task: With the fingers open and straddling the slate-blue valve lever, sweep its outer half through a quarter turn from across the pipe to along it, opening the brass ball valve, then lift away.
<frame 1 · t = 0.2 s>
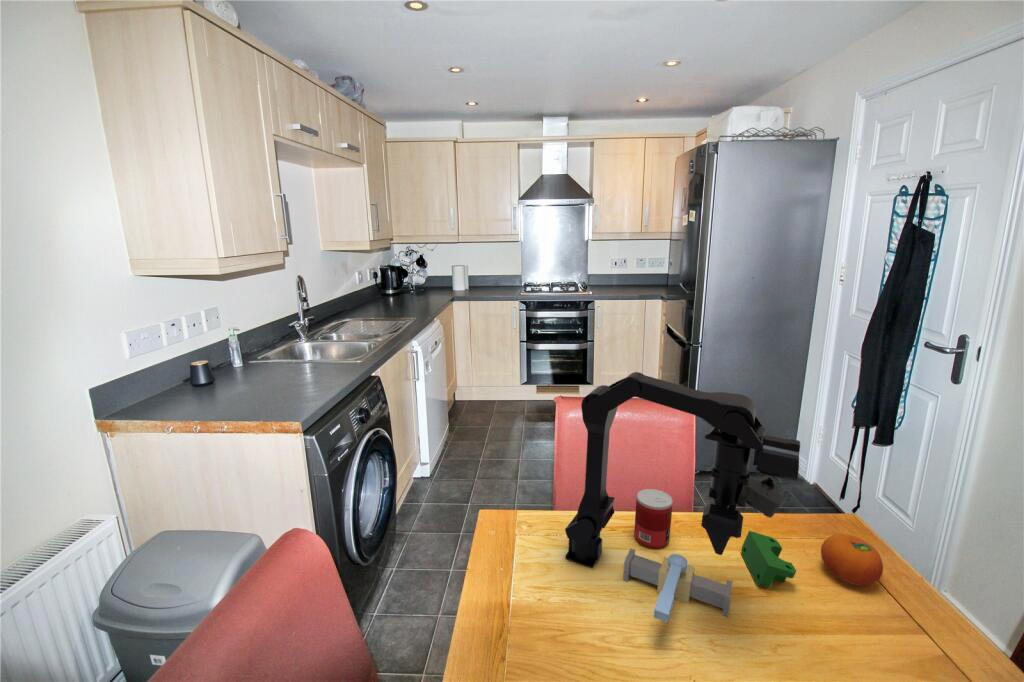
hand: (721, 539, 88), 14 cm above the table, fingers open, 9 cm apart
fruit: (847, 576, 99), on the table
lever: (670, 585, 88), point 6 cm above the table, hinge at 0.0°
pipe valve: (675, 590, 95), on the table
green bracket: (766, 572, 100), on the table
canned food: (651, 539, 111), on the table
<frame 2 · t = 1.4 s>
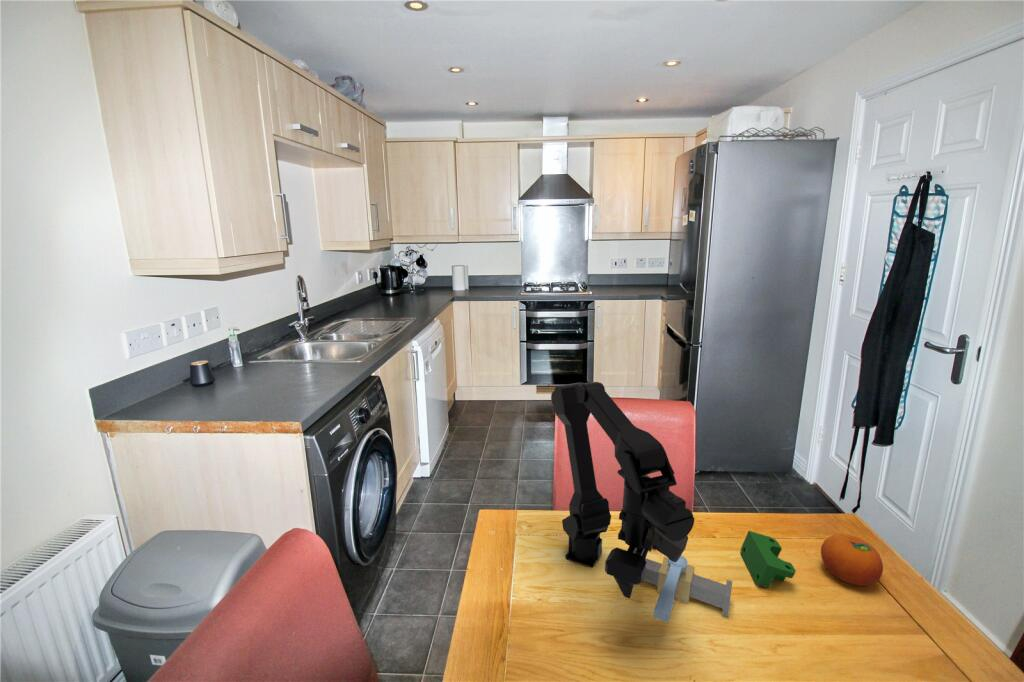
hand: (634, 580, 88), 7 cm above the table, fingers open, 9 cm apart
nothing on the table moved.
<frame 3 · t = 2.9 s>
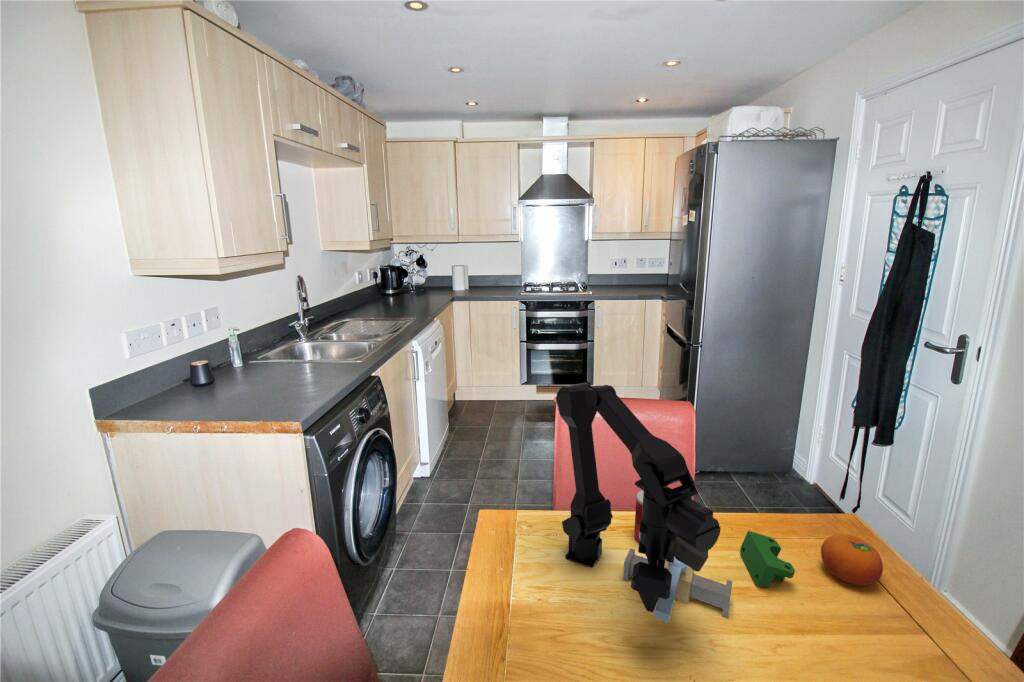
hand: (652, 592, 86), 6 cm above the table, fingers open, 9 cm apart
lever: (671, 585, 88), point 6 cm above the table, hinge at 0.4°, touching gripper
everything else where it was.
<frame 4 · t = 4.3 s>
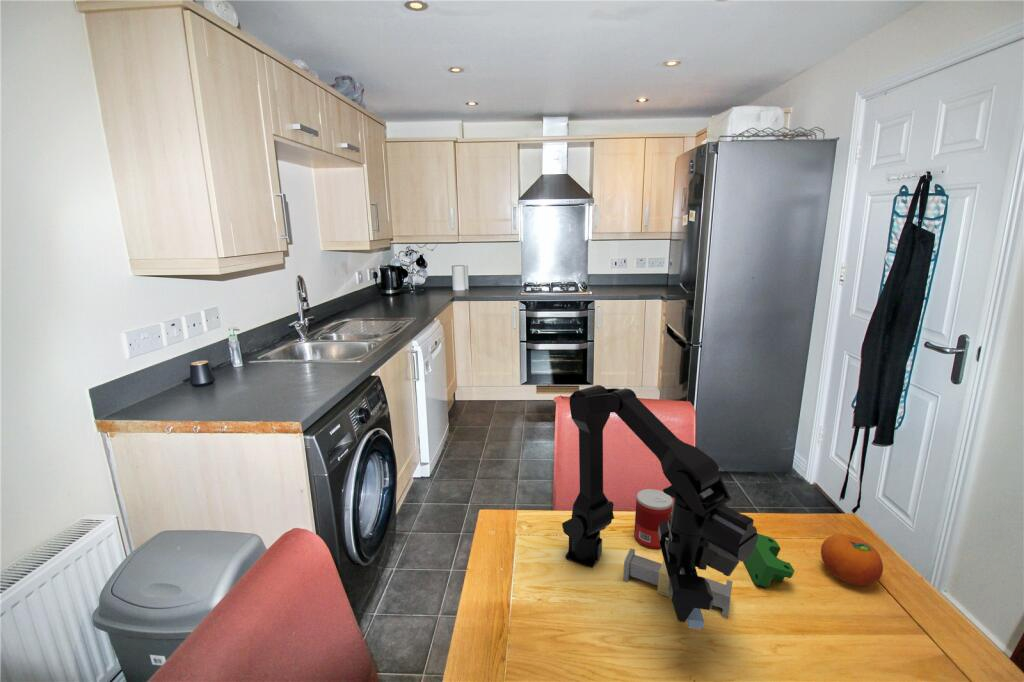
hand: (676, 600, 85), 6 cm above the table, fingers open, 9 cm apart
lever: (684, 588, 87), point 6 cm above the table, hinge at 21.9°, touching gripper
everything else where it was.
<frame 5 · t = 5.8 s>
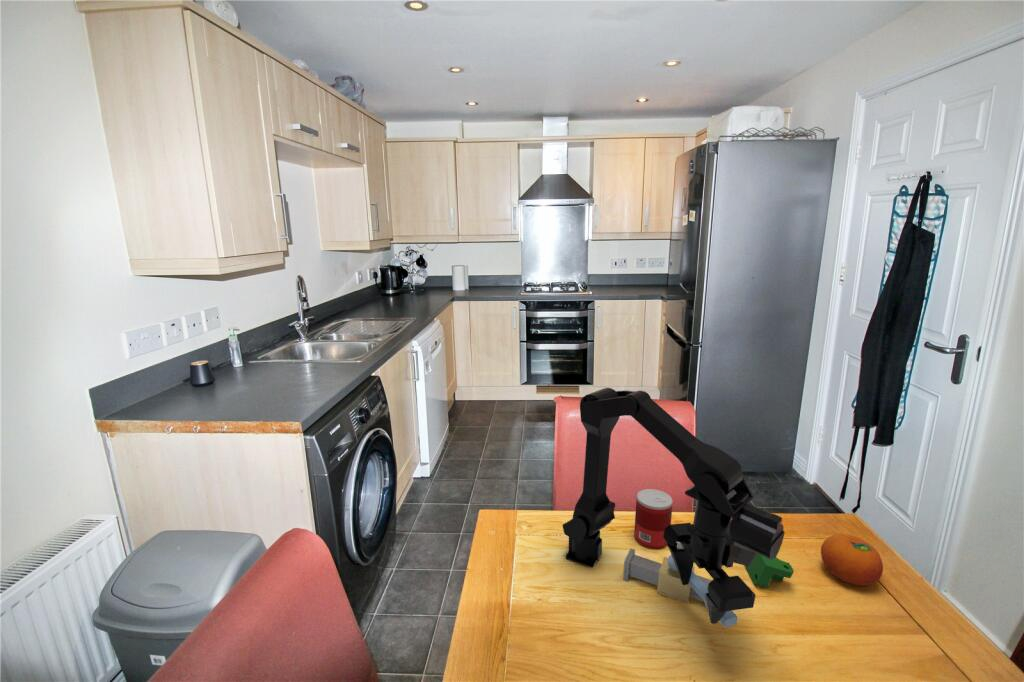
hand: (698, 602, 84), 6 cm above the table, fingers open, 9 cm apart
lever: (698, 587, 87), point 6 cm above the table, hinge at 45.4°, touching gripper
everything else where it was.
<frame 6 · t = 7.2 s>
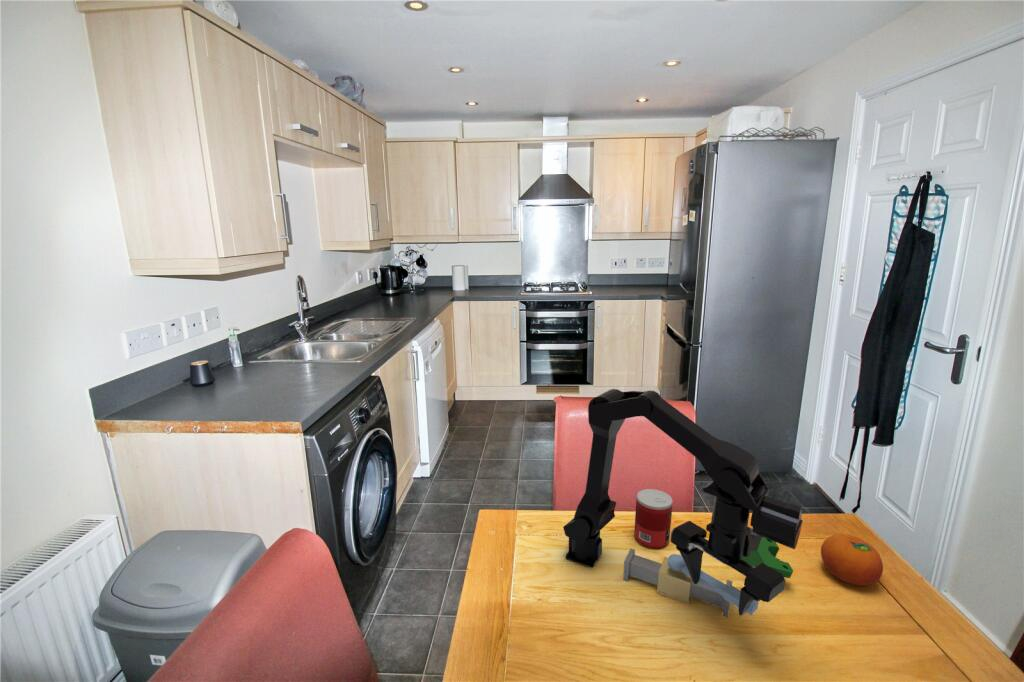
hand: (717, 598, 85), 6 cm above the table, fingers open, 9 cm apart
lever: (709, 582, 89), point 6 cm above the table, hinge at 69.7°, touching gripper
everything else where it was.
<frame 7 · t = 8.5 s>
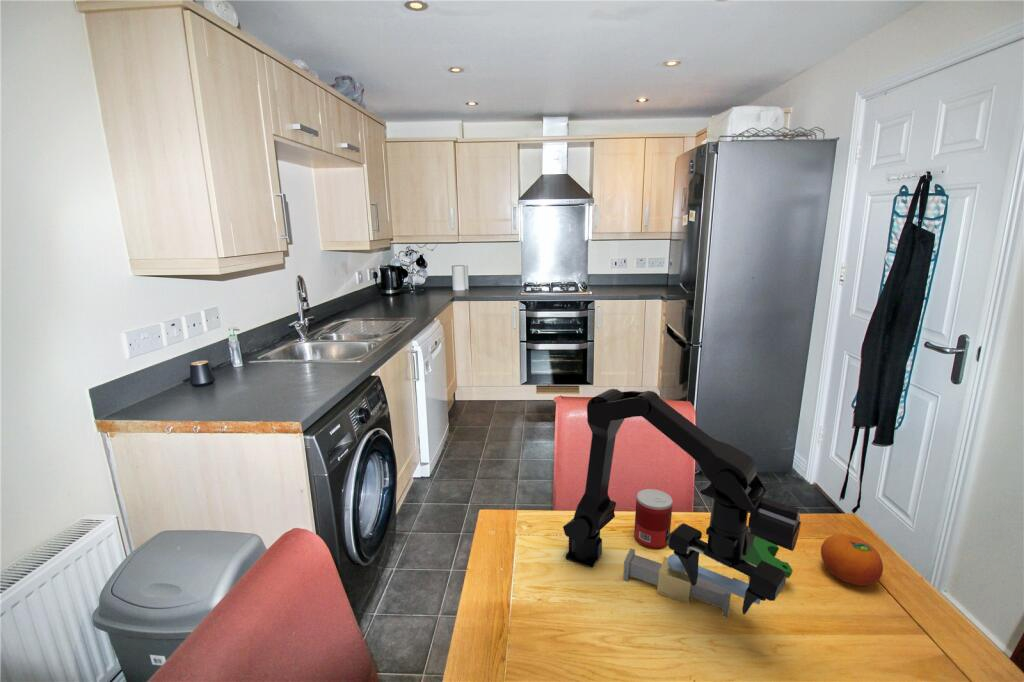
hand: (718, 598, 85), 6 cm above the table, fingers open, 9 cm apart
lever: (712, 577, 90), point 6 cm above the table, hinge at 83.0°
everything else where it was.
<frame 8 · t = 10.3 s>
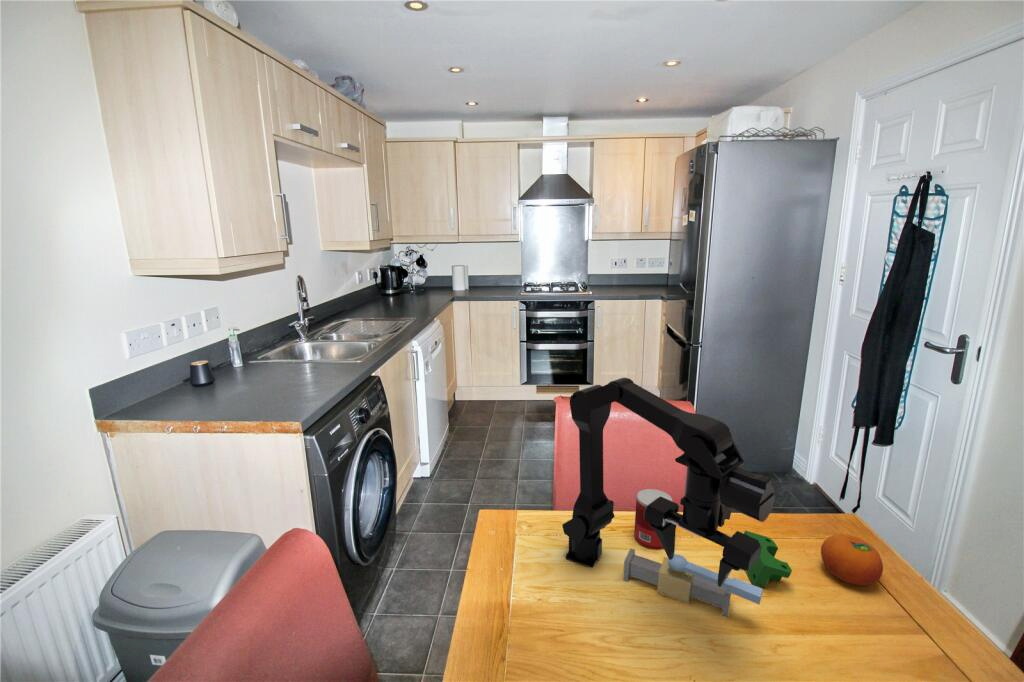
hand: (694, 571, 83), 12 cm above the table, fingers open, 9 cm apart
nothing on the table moved.
at the end: lever at +83° (first picture: +0°); lever touching nothing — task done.
